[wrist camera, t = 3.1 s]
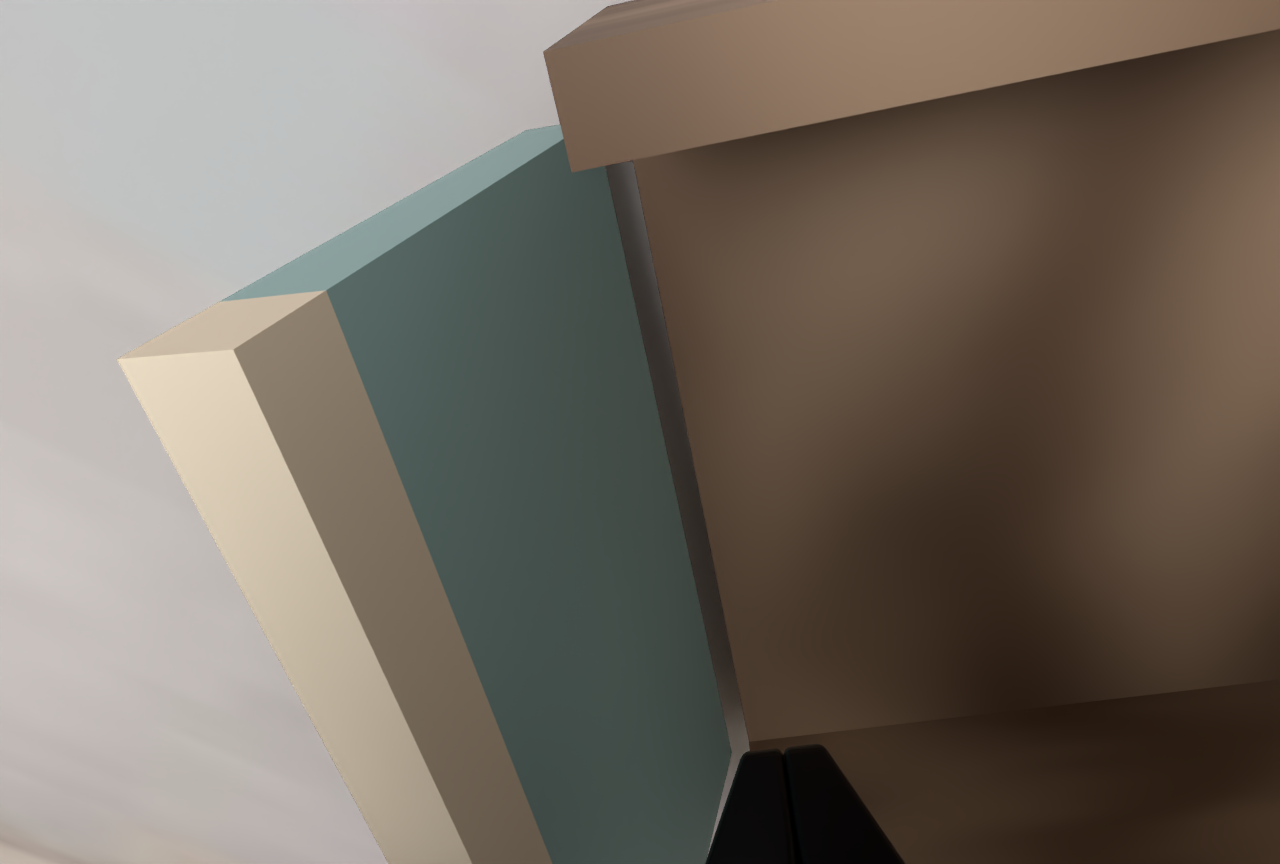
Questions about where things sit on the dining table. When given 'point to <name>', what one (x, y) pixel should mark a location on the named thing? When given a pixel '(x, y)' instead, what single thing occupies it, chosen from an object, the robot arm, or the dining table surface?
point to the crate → (978, 396)
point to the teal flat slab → (462, 519)
